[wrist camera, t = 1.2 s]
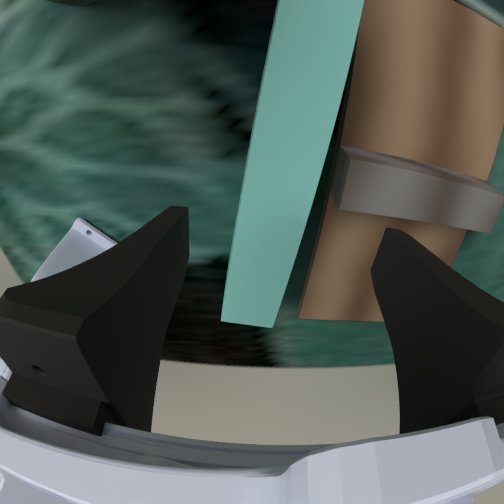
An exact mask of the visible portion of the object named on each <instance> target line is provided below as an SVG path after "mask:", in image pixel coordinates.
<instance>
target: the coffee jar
mask: <svg viewBox="0 0 504 504" xmlns="http://www.w3.org/2000/svg"><path fill="white" fill-rule="evenodd" d="M47 1H51V2H55V3H60V4H65V5H72V6H83V5H87V4H91V3H93V2H96V1H98V0H47Z"/></svg>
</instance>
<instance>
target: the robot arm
mask: <svg viewBox="0 0 504 504" xmlns="http://www.w3.org/2000/svg"><path fill="white" fill-rule="evenodd" d="M88 230H90V231H91V232H92V233H90V232H89V231H88ZM188 259H189V219H188V207H181V206H171V207H169V208H167V209H166V210H164V211H163V212H162V213H160V214H159V215H158V216H156V217H155V218H154V219H152V220H151V221H150V222H148V223H147V224H145V225H144V226H143V227H141V228H140V229H139V230H137V231H136V232H134V233H133V234H131V235H130V236H128V237H127V238H125V239H124V240H122V241H121V242H119V243H117V242H115V241H114V240H112V239H111V238H109V237H108V236H106V235H105V234H103V233H102V232H101V231H99V230H98V229H96V228H95V227H93V226H92V225H90V224H89V223H88V222H86V221H85V220H83V219H81V218H78V219H76V221H75V222H74V224H73V226H72V228H71V229H70V230H69V232H68V233H67V234H66V235H65V237H64V238H63V239H62V240H61V241H60V243H59V244H58V245H57V246H56V248H55V249H54V250H53V251H52V253H51V254H50V255H49V257H48V258H47V259H46V260H45V262H44V263H43V264H42V266H41V267H40V268H39V270H38V271H37V273H36V274H35V276H34V277H33V279H32V280H31V282H29V283H26V284H22V285H19V286H15V287H11V288H7V290H6V291H5V292H4V294H3V295H2V297H1V298H0V357H1V360H0V504H474V499H473V495H474V494H477V493H479V492H481V491H483V490H485V489H487V488H489V487H491V486H493V485H495V484H497V483H499V482H501V481H503V480H504V302H502V301H500V300H498V299H497V298H495V297H493V296H491V295H490V294H488V293H486V292H485V291H483V290H482V289H480V288H479V287H477V286H476V285H474V284H473V283H471V282H470V281H468V280H467V279H466V278H464V277H463V276H461V275H460V274H459V273H457V272H456V271H455V270H454V269H452V268H451V267H450V266H448V265H447V264H446V263H444V262H443V261H442V260H441V259H439V258H438V257H437V256H436V255H434V254H433V253H432V252H431V251H430V250H428V249H427V248H426V247H425V246H423V245H422V244H421V243H419V242H418V241H417V240H416V239H414V238H413V237H411V236H410V235H409V234H407V233H406V232H404V231H402V230H400V229H395V228H387V227H386V229H385V232H384V235H383V237H382V240H381V243H380V246H379V249H378V251H377V254H376V257H375V259H374V262H373V265H372V267H371V270H370V272H371V277H372V283H373V287H374V292H375V295H376V298H377V301H378V304H379V307H380V310H381V313H382V316H383V319H384V322H385V325H386V328H387V331H388V334H389V337H390V341H391V345H392V348H393V353H394V359H395V365H396V372H397V379H398V389H399V405H400V434H397V435H392V436H384V437H376V438H368V439H363V440H357V441H352V442H345V443H339V444H322V445H255V444H237V443H224V442H213V441H204V440H196V439H188V438H181V437H175V436H168V435H162V434H157V433H151V425H152V415H153V406H154V398H155V390H156V383H157V377H158V371H159V365H160V360H161V354H162V349H163V344H164V339H165V335H166V331H167V328H168V325H169V322H170V319H171V316H172V313H173V310H174V307H175V304H176V301H177V298H178V295H179V293H180V290H181V287H182V284H183V281H184V278H185V273H186V269H187V264H188Z"/></svg>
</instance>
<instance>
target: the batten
mask: <svg viewBox="0 0 504 504" xmlns="http://www.w3.org/2000/svg"><path fill="white" fill-rule="evenodd" d="M363 4H364V0H278V2H277V7H276V12H275V17H274V21H273V26H272V31H271V36H270V41H269V46H268V51H267V56H266V61H265V66H264V71H263V76H262V81H261V86H260V91H259V96H258V101H257V107H256V112H255V117H254V122H253V128H252V133H251V139H250V144H249V149H248V155H247V160H246V166H245V172H244V177H243V183H242V188H241V194H240V200H239V206H238V211H237V217H236V223H235V229H234V235H233V241H232V247H231V253H230V259H229V265H228V271H227V278H226V285H225V292H224V300H223V307H222V315H221V321H225V322H231V323H238V324H246V325H253V326H261V327H269V328H273V325H274V322H275V319H276V316H277V313H278V310H279V307H280V304H281V301H282V298H283V295H284V292H285V289H286V286H287V283H288V280H289V277H290V274H291V271H292V268H293V264H294V261H295V258H296V255H297V252H298V249H299V246H300V242H301V239H302V236H303V233H304V229H305V226H306V223H307V220H308V216H309V213H310V210H311V206H312V203H313V199H314V196H315V193H316V189H317V186H318V182H319V179H320V175H321V172H322V168H323V165H324V161H325V158H326V154H327V151H328V147H329V143H330V140H331V136H332V132H333V129H334V125H335V121H336V117H337V113H338V110H339V106H340V102H341V98H342V94H343V90H344V86H345V82H346V78H347V74H348V70H349V66H350V61H351V57H352V53H353V49H354V44H355V40H356V36H357V31H358V27H359V22H360V18H361V13H362V8H363Z"/></svg>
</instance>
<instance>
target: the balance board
mask: <svg viewBox="0 0 504 504" xmlns="http://www.w3.org/2000/svg"><path fill="white" fill-rule="evenodd" d="M503 125H504V30H503V29H502V28H500V27H499V26H497V25H496V24H494V23H493V22H491V21H489V20H488V19H486V18H484V17H483V16H481V15H479V14H477V13H476V12H474V11H472V10H470V9H468V8H467V7H465V6H463V5H461V4H459V3H457V2H455V1H453V0H364V4H363V8H362V13H361V18H360V22H359V27H358V31H357V36H356V40H355V44H354V49H353V53H352V57H351V61H350V66H349V70H348V76H347V82H346V88H345V95H344V101H343V106H342V112H341V118H340V123H339V129H338V134H337V140H336V145H335V150H334V155H333V160H332V165H331V170H330V175H329V180H328V185H327V189H326V194H325V199H324V203H323V208H322V212H321V217H320V221H319V225H318V230H317V234H316V238H315V243H314V247H313V251H312V255H311V259H310V263H309V267H308V271H307V275H306V279H305V283H304V287H303V291H302V294H301V298H300V302H299V306H298V309H297V311H298V318H301V319H320V320H345V321H384V319H383V316H382V313H381V310H380V307H379V304H378V301H377V298H376V295H375V292H374V287H373V283H372V277H371V272H370V270H371V267H372V265H373V262H374V259H375V257H376V254H377V251H378V249H379V246H380V243H381V240H382V237H383V235H384V232H385V229H386V227H387V228H395V229H400V230H402V231H404V232H406V233H407V234H409V235H410V236H411V237H413V238H414V239H416V240H417V241H418V242H419V243H421V244H422V245H423V246H425V247H426V248H427V249H428V250H430V251H431V252H432V253H433V254H434V255H436V256H437V257H438V258H439V259H441V260H442V261H443V262H444V263H446V264H447V265H448V266H450V267H451V265H452V263H453V261H454V258H455V256H456V254H457V252H458V250H459V248H460V246H461V244H462V241H463V239H464V237H465V235H466V233H467V230H474V231H479V232H484V233H489V234H490V233H491V231H492V228H493V226H494V224H495V222H496V219H497V217H498V215H499V212H500V210H501V207H502V205H503V202H504V195H503V194H502V193H501V192H500V191H498V190H497V189H496V188H495V187H494V186H492V185H491V184H490V183H489V182H488V181H487V179H488V176H489V173H490V170H491V167H492V164H493V161H494V158H495V154H496V151H497V148H498V144H499V140H500V137H501V133H502V129H503Z"/></svg>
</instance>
